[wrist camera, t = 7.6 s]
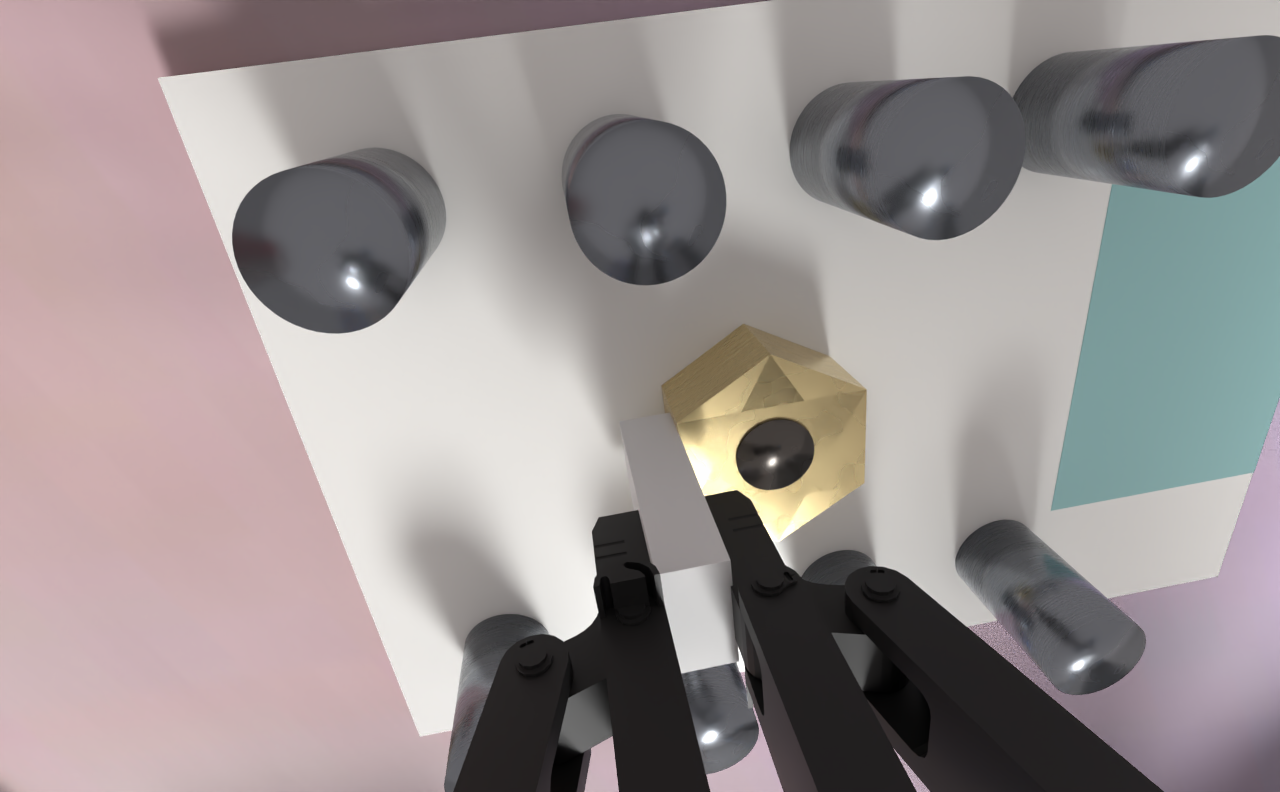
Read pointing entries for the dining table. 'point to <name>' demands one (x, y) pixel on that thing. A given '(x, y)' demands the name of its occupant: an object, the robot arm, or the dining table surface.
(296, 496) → the dining table surface
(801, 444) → the brass nut
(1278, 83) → the spacers
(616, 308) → the white flat rectangular panel
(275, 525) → the dining table surface
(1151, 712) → the dining table surface
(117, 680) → the dining table surface
